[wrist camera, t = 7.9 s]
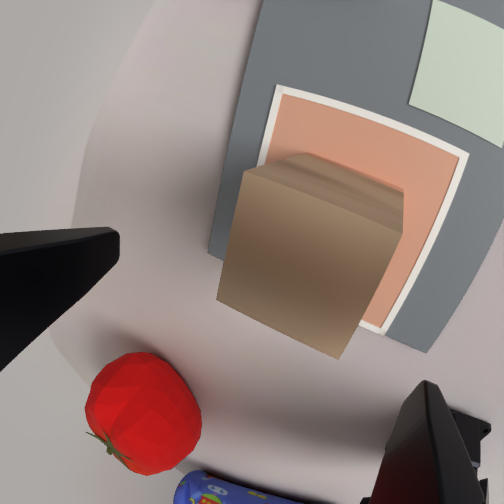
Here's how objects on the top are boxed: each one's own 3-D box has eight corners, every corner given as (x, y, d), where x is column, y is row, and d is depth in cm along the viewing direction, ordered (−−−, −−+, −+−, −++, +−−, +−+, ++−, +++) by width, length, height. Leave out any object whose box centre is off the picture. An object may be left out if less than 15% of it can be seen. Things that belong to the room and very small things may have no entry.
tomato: (200, 344, 25) (116, 427, 17) (232, 439, 29) (178, 511, 21) (115, 325, 31) (41, 379, 22) (154, 411, 35) (100, 465, 26)
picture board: (426, 347, 17) (425, 375, 15) (212, 249, 21) (189, 265, 19) (548, -11, 6) (563, -27, 4) (294, -87, 10) (277, -108, 8)
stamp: (367, 275, 16) (338, 359, 11) (283, 239, 18) (216, 299, 12) (403, 189, 14) (402, 234, 8) (309, 152, 15) (243, 170, 10)
